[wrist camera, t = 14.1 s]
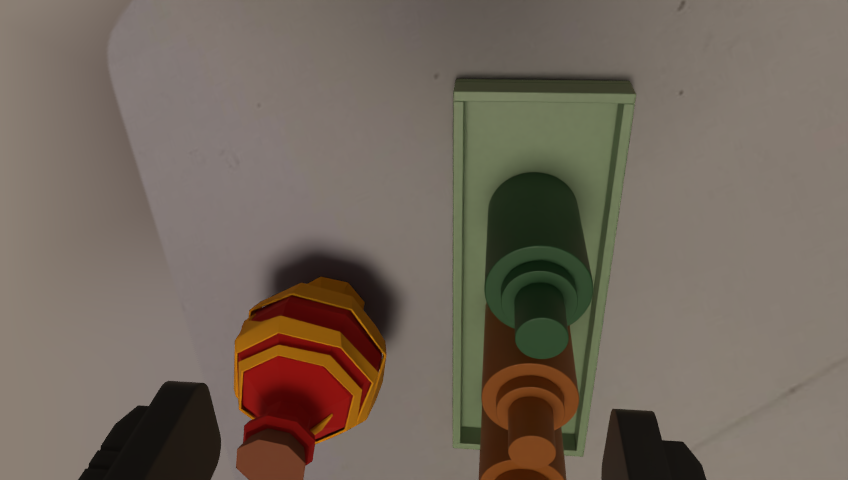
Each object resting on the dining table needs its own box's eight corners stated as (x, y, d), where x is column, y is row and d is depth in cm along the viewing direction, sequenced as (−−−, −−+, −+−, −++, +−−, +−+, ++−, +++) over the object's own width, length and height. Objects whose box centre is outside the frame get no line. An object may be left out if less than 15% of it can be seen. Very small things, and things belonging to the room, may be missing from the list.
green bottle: (469, 210, 44) (457, 335, 33) (536, 154, 42) (548, 268, 30) (528, 264, 46) (536, 401, 35) (596, 214, 43) (627, 343, 32)
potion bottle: (287, 364, 54) (219, 528, 41) (245, 256, 49) (151, 404, 36) (414, 353, 52) (384, 522, 39) (383, 238, 47) (338, 389, 34)
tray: (455, 78, 40) (453, 91, 38) (629, 80, 39) (636, 93, 37) (454, 425, 55) (452, 448, 53) (580, 433, 54) (583, 457, 52)
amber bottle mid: (468, 307, 48) (457, 447, 37) (529, 261, 46) (536, 397, 35) (522, 354, 50) (527, 502, 39) (584, 312, 47) (608, 457, 36)
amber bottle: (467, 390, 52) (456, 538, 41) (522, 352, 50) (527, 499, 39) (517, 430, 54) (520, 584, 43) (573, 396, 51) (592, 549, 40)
